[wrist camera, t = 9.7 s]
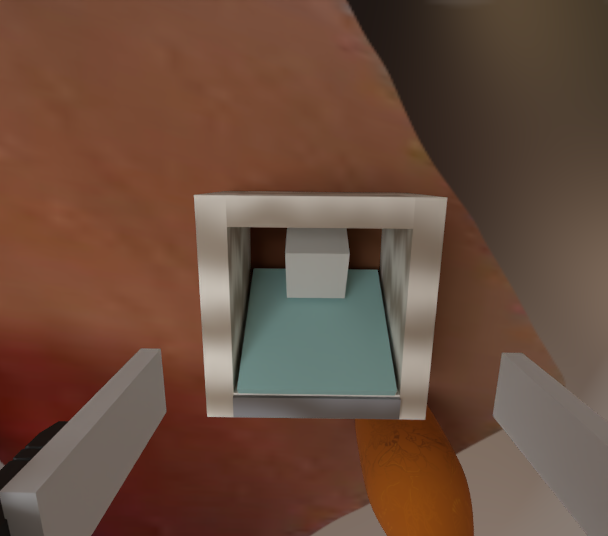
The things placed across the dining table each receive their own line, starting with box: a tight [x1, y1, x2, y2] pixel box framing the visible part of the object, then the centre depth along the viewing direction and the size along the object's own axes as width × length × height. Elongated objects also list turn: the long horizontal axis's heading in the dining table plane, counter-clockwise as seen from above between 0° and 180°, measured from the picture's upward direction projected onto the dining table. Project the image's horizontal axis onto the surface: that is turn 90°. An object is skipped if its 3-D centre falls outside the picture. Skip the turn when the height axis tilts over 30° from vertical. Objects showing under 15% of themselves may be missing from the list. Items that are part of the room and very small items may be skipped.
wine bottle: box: [355, 405, 474, 536], centre depth 32 cm, size 10×10×30 cm
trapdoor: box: [237, 268, 397, 395], centre depth 37 cm, size 14×14×1 cm
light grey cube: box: [285, 228, 350, 298], centre depth 38 cm, size 6×6×6 cm
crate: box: [194, 191, 447, 420], centre depth 37 cm, size 20×20×12 cm
